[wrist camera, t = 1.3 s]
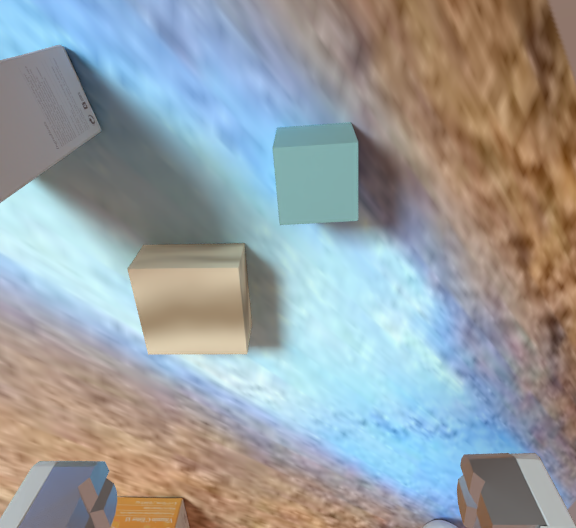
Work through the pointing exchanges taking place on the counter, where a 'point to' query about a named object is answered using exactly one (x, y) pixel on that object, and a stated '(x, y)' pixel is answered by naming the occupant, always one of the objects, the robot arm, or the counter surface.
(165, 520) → the small box
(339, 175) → the teal cube
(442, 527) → the egg
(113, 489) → the robot arm
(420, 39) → the counter surface
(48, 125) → the skincare box
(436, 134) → the counter surface
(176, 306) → the maple block
